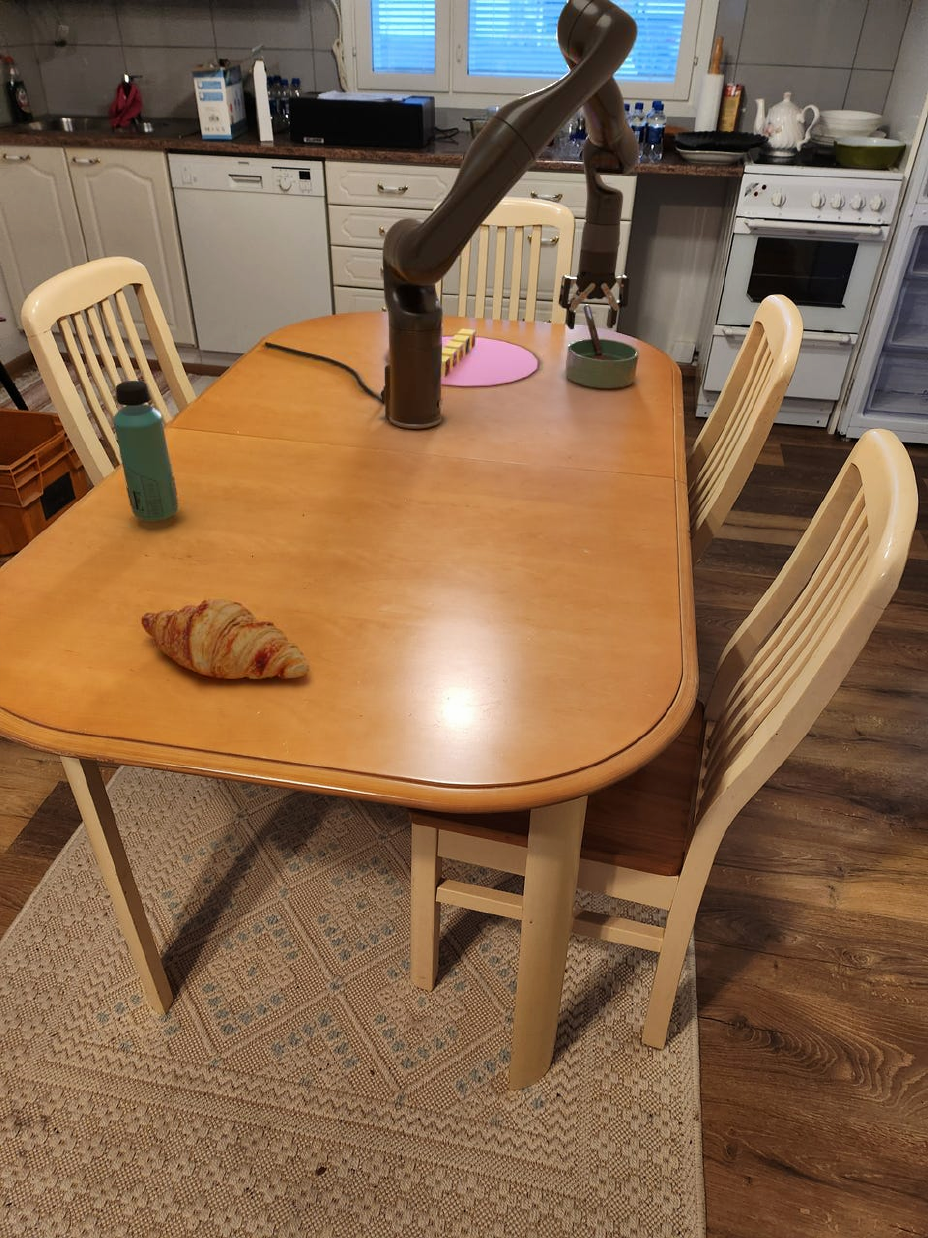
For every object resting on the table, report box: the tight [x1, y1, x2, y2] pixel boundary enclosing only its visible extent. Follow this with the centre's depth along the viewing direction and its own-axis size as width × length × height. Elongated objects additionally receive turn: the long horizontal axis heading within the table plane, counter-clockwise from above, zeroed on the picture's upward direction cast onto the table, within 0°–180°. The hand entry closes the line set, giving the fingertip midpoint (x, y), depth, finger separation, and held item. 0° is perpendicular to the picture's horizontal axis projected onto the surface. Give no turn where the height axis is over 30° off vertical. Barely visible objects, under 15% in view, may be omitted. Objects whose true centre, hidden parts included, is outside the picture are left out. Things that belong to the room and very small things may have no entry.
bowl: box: [564, 338, 640, 389], centre depth 177 cm, size 14×14×6 cm
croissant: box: [140, 598, 310, 680], centre depth 97 cm, size 21×10×8 cm, turn 71°
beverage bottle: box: [112, 380, 180, 522], centre depth 118 cm, size 6×7×20 cm
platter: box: [387, 328, 539, 387], centre depth 184 cm, size 32×32×3 cm
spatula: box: [582, 304, 611, 360], centre depth 179 cm, size 18×4×11 cm, turn 11°
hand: (590, 327), depth 183 cm, fingers open, 8 cm apart
